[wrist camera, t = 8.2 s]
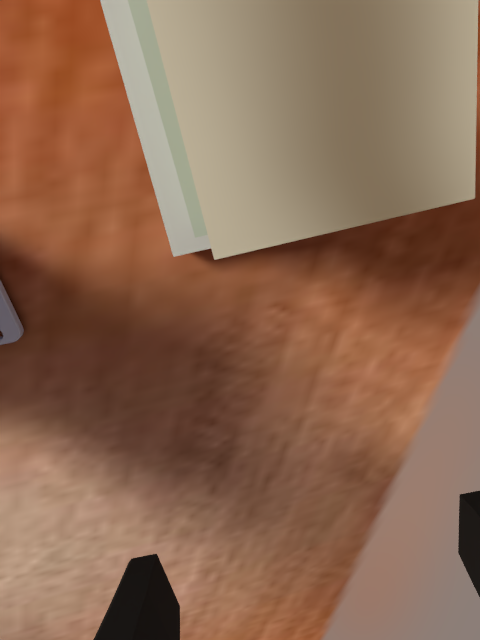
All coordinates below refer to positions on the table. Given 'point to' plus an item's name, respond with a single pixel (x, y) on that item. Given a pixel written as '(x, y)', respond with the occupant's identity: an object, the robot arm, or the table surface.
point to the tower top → (167, 111)
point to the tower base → (151, 129)
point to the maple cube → (320, 111)
